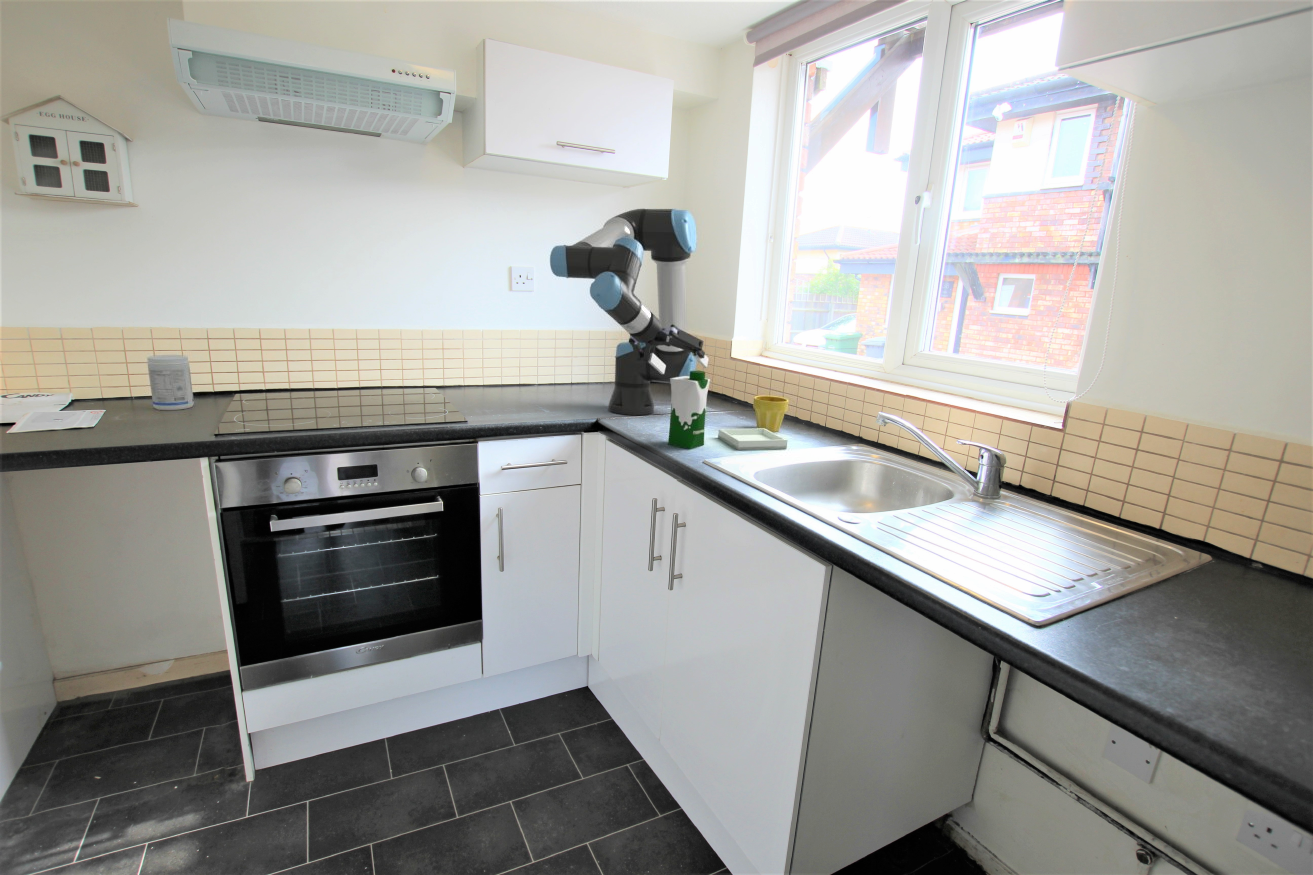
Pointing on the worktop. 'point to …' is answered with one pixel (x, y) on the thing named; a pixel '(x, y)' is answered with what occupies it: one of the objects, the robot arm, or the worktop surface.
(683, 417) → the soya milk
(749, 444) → the sage tray
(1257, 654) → the worktop surface
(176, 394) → the supplement tub
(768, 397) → the plant pot
